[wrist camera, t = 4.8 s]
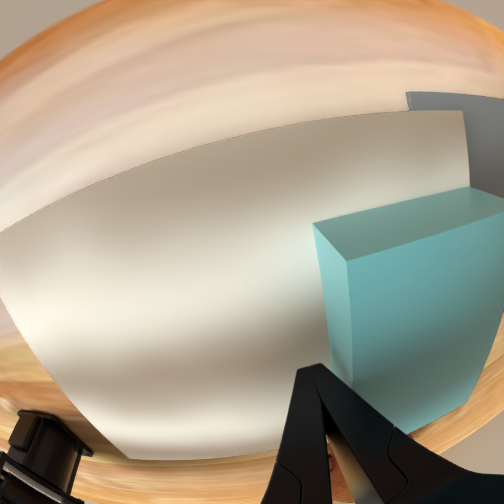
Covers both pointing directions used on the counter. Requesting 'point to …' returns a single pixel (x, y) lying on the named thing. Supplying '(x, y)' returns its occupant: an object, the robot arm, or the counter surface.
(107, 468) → the counter surface
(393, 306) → the teal rectangular block
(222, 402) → the board
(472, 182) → the mat
